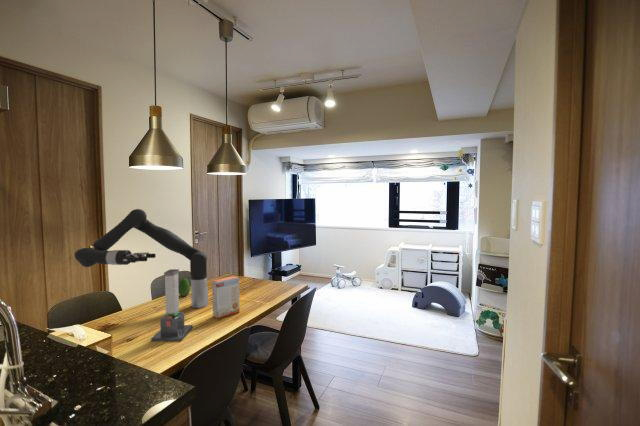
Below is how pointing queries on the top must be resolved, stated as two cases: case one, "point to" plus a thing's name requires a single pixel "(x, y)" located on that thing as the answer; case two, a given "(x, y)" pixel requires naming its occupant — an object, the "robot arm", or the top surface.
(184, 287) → the avocado
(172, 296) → the column
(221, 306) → the cracker box
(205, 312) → the top surface
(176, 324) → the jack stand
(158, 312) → the top surface
